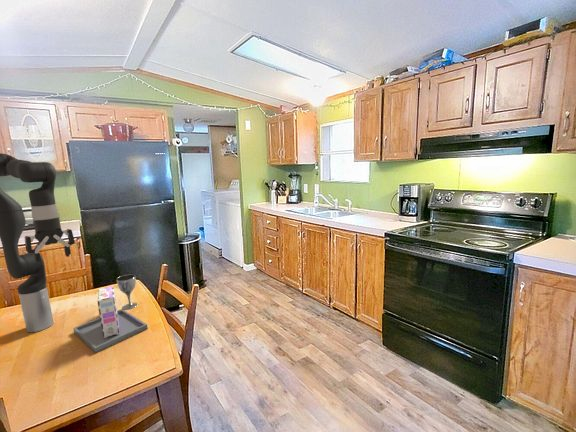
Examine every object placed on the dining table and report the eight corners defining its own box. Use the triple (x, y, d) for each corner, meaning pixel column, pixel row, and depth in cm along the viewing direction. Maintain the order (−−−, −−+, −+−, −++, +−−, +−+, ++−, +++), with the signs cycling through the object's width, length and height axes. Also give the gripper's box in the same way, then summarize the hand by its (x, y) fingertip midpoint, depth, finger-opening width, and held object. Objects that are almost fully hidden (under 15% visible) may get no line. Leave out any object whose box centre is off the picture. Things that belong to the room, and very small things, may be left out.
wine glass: (131, 310, 141) (127, 281, 138) (117, 309, 143) (112, 280, 140) (142, 302, 149) (138, 274, 146) (128, 301, 150) (124, 273, 147)
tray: (74, 332, 124) (73, 328, 124) (122, 312, 139) (122, 309, 139) (95, 353, 109) (94, 348, 109) (147, 328, 125) (147, 324, 124)
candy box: (120, 334, 120) (114, 296, 117) (103, 339, 117) (96, 300, 114) (119, 319, 132) (113, 285, 129) (103, 323, 129) (97, 288, 126)
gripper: (65, 213, 117) (72, 252, 120) (18, 219, 106) (27, 263, 109) (72, 214, 112) (79, 255, 115) (23, 221, 101) (32, 266, 104)
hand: (54, 259), depth 112 cm, fingers open, 8 cm apart
